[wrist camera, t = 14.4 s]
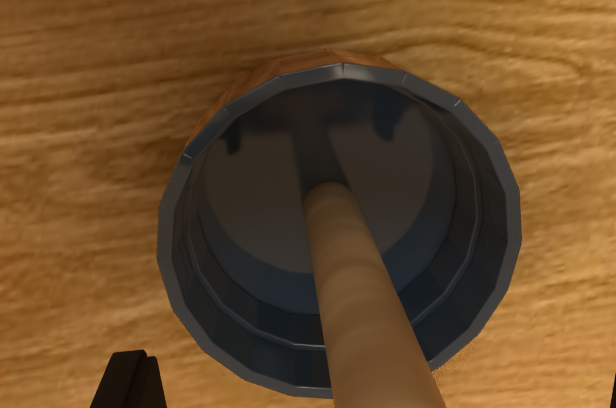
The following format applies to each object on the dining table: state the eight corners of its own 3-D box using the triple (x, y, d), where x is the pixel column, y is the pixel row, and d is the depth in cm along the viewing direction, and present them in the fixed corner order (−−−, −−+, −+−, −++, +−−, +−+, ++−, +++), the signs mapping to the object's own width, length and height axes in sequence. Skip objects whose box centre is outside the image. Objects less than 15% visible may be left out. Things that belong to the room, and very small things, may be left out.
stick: (293, 219, 23) (335, 584, 9) (317, 172, 22) (404, 483, 8) (341, 239, 23) (455, 616, 9) (366, 193, 22) (530, 523, 8)
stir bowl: (137, 265, 23) (105, 332, 19) (253, -8, 20) (248, -10, 15) (384, 358, 26) (410, 438, 21) (525, 130, 22) (592, 165, 18)
